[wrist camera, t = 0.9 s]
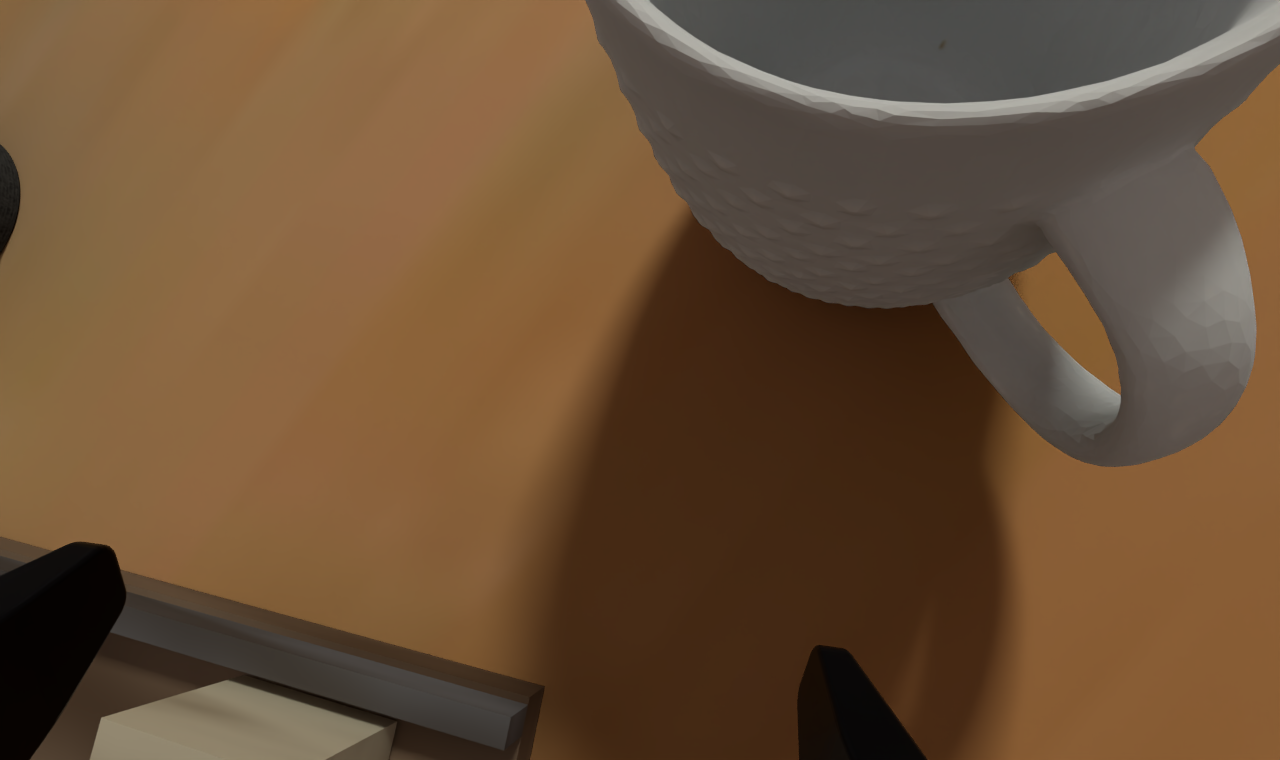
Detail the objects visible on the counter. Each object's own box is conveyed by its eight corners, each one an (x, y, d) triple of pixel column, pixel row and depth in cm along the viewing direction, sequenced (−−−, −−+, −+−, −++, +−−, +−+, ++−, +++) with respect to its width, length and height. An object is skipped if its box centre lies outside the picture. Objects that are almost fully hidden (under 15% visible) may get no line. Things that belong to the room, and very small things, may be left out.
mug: (1250, 379, 18) (2235, 97, 6) (844, 562, 20) (928, 658, 7) (947, -62, 22) (1147, -827, 9) (619, 116, 23) (407, -347, 11)
